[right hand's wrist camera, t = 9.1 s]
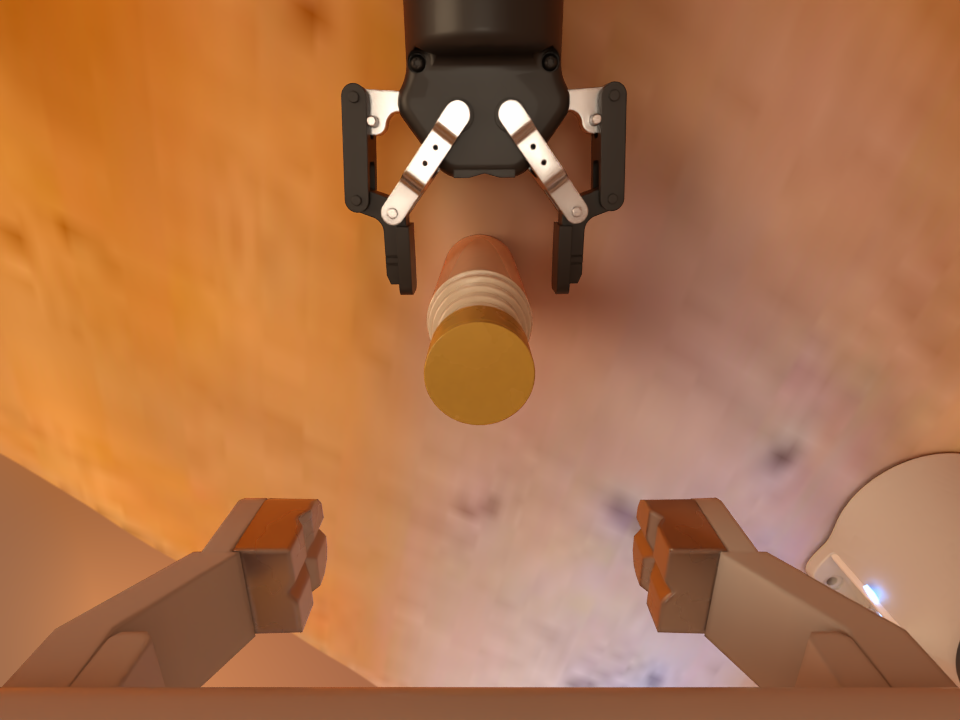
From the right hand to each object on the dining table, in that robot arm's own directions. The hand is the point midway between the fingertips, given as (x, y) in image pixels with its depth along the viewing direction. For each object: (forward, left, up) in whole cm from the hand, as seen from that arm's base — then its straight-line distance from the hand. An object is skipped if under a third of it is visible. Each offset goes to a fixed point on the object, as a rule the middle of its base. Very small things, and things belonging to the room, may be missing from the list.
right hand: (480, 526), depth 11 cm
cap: (0, 0, -8) cm, 8 cm away
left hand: (0, 0, -20) cm, 21 cm away
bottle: (0, 0, -27) cm, 27 cm away
